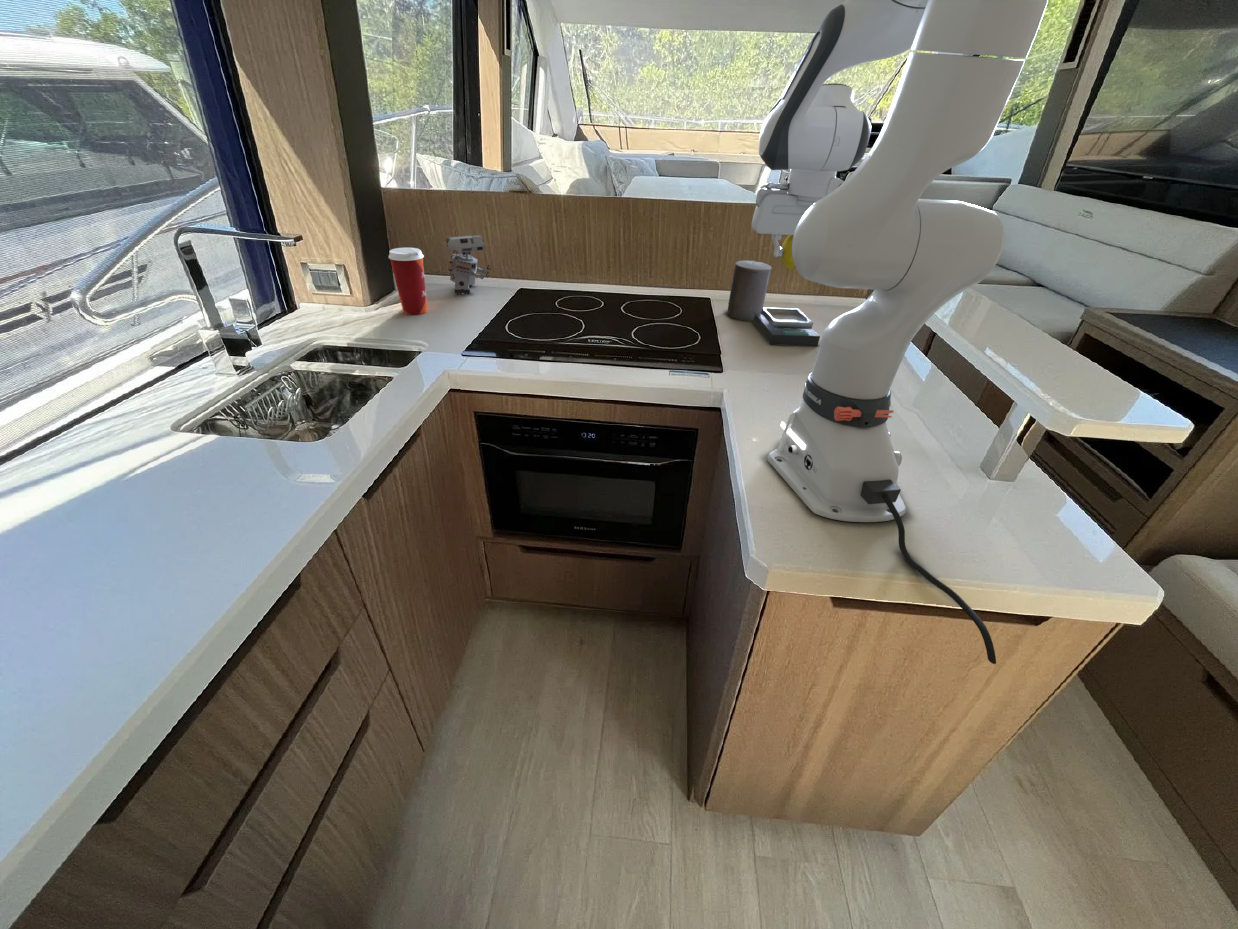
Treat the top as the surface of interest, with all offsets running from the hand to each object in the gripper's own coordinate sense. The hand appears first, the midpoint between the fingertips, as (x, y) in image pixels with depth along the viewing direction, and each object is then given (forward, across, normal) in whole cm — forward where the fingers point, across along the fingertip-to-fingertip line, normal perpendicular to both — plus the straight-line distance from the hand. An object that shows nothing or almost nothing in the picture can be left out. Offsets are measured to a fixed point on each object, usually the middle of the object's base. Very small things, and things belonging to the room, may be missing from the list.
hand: (793, 256), depth 112 cm
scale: (+22, +8, +13) cm, 27 cm away
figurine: (+23, -77, +43) cm, 91 cm away
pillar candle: (+23, +1, +27) cm, 35 cm away
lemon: (+3, 0, 0) cm, 3 cm away
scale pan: (+19, +8, +14) cm, 25 cm away
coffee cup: (+22, -88, +23) cm, 94 cm away
